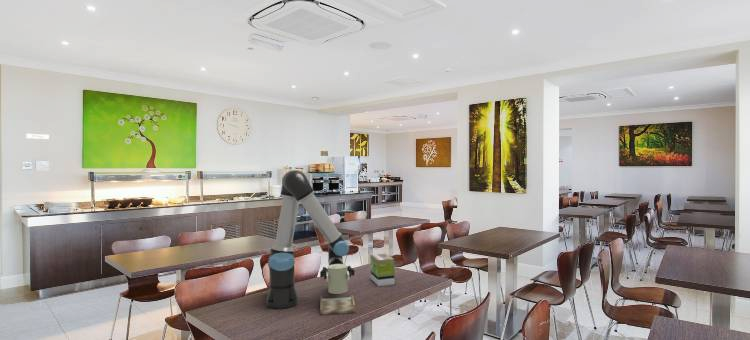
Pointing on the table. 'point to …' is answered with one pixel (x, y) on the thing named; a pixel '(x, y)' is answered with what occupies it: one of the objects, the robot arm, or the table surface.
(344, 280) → the can
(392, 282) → the tea box
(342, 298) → the tailgate
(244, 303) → the table surface
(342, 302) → the tray
